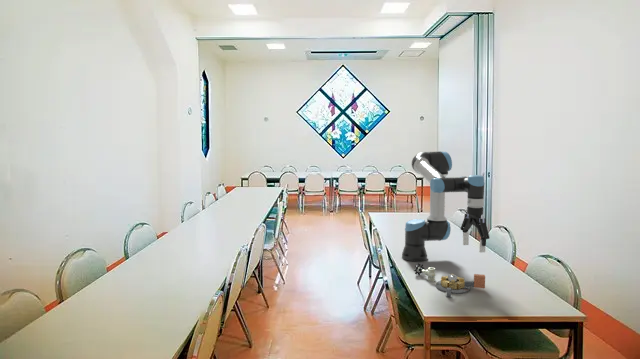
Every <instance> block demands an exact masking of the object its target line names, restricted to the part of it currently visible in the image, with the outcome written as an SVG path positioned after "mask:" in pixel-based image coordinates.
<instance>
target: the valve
mask: <svg viewBox="0 0 640 359" xmlns="http://www.w3.org/2000/svg"><path fill="white" fill-rule="evenodd" d="M414 267H415V268H414V269H413V271H414V275H416V276H417V275H418V276H421V274H424V275H425V276H426V277H427V281H428V282H433V283H434V282H435V281H436V275H437V274H436V268H435V267H432V266H431V267H428V268H427V269H425V267H424V264H422V263H419V262H418V263H417V265H416V264H415V266H414Z"/></svg>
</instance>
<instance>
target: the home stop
mask: <svg viewBox="0 0 640 359" xmlns="http://www.w3.org/2000/svg"><path fill="white" fill-rule="evenodd" d="M451 289H452V288H447V290H446V292H445V293H446V294H445V297H446V298H450V299H451V298H452V293H451Z"/></svg>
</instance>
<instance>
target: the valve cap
mask: <svg viewBox="0 0 640 359" xmlns="http://www.w3.org/2000/svg"><path fill="white" fill-rule="evenodd" d="M453 274H454V273H450V274H448V275H447V276H448V281H450V282H451V280H455V282H457V277H458V275H456V274H454V275H453ZM435 288H436V289H437V290H438V291H440V292H443V293H446V290H447V288H446V287H443V286H442V285H441V280H439V281H436V282H435ZM469 291H470V287H464V288H461V289H451V295H453V294H455V295H461V294H465V293H468V292H469Z"/></svg>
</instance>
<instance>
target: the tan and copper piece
mask: <svg viewBox="0 0 640 359" xmlns="http://www.w3.org/2000/svg"><path fill="white" fill-rule="evenodd" d="M452 274H453V275H455V274H454V273H452ZM440 281H441V285H442V286H443V287H446V288H452V289H461V288H464V287H469V288H475V289H477V288H478V289H486V275H485V274H478V273H474V274H473V280H465V277H459V276H457V282H455V280H451V282H450V281H448V275H445V276H444V275H442V276H441V277H440Z"/></svg>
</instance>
